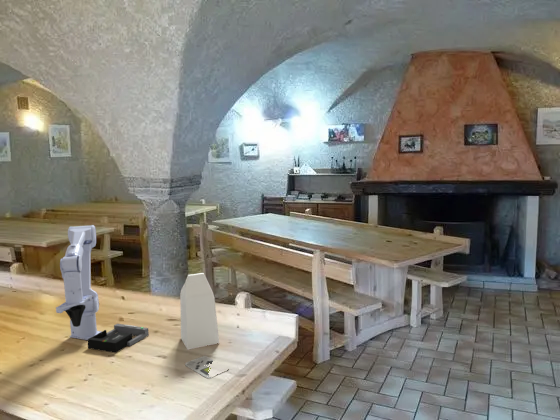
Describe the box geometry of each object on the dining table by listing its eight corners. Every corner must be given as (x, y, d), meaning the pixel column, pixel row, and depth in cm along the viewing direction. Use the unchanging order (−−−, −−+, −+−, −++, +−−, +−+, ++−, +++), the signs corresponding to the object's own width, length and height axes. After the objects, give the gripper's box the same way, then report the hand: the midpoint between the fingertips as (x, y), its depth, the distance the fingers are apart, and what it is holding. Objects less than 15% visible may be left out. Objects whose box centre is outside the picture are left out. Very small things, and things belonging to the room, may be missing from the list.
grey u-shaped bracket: (97, 341, 180) (97, 332, 179) (117, 330, 190) (117, 322, 190) (129, 346, 174) (129, 337, 174) (148, 335, 184) (148, 327, 184)
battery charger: (133, 343, 178) (132, 333, 177) (116, 353, 169) (115, 343, 168) (105, 339, 182) (105, 329, 182) (87, 349, 173) (87, 339, 173)
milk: (187, 349, 170) (183, 280, 166) (180, 338, 180) (176, 272, 177) (219, 343, 174) (215, 275, 171) (211, 332, 185) (207, 268, 182)
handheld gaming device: (204, 354, 164) (230, 368, 153) (204, 356, 164) (230, 370, 153) (183, 363, 158) (208, 378, 147) (183, 365, 158) (208, 380, 147)
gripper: (65, 296, 158) (68, 334, 160) (97, 284, 171) (100, 320, 173) (50, 294, 161) (53, 332, 162) (82, 283, 174) (85, 318, 176)
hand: (76, 325), depth 168 cm, fingers closed
